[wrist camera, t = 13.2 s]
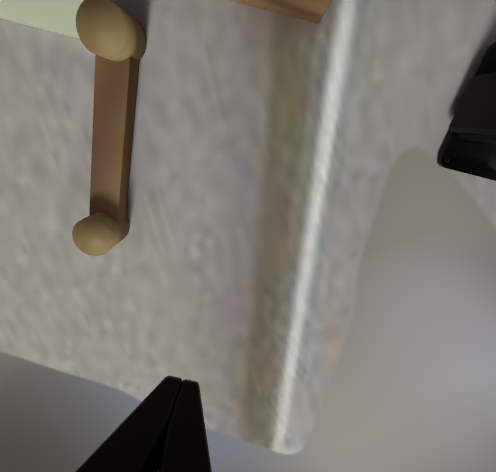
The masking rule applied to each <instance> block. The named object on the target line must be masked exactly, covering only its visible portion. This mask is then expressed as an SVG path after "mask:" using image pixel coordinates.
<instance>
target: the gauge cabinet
mask: <svg viewBox="0 0 496 472" xmlns="http://www.w3.org/2000/svg"><path fill="white" fill-rule="evenodd" d="M232 1H236V2H240V3H244V4H247V5H251V6H255V7H258V8H262V9H266V10H270V11H273V12H277V13H281V14H285V15H288V16H292V17H296V18H299V19H303V20H307V21H311V22H314V23H319V22H320V20H321V18H322V16H323V14H324V13H325V11H326V9H327V7H328V5H329V4H330V2H331V0H232Z"/></svg>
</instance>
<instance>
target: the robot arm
mask: <svg viewBox="0 0 496 472" xmlns="http://www.w3.org/2000/svg"><path fill="white" fill-rule="evenodd" d="M449 127H450V131H449V133H448V136H447V138H446V140H445V142H444V144H443V146H442V149H441V151H440V153H439V155H438V158H437V163H438V164H439V166H441V167H444V168H448V169H452V170H456V171H460V172H464V173H468V174H472V175H476V176H480V177H483V178H487V179H491V180H495V181H496V42H494V43H493V44H491V45H490V47H489V48H488V50H487V52H486V54H485V56H484V58H483V60H482V63H481V65H480V67H479V69H478V71H477V73H476V75H475V77H474V78H472V79H471V80H470V82H469V84H468V86H467V89H466V91H465V93H464V95H463V97H462V99H461V102H460V104H459V106H458V108H457V110H456V112H455V115H454V117H453V119H452V121H451V123H450V126H449ZM448 155H450V156H451V158H450V160H449V162H447V163H446V162H445V159H446V157H447V156H448ZM158 471H159V472H212V471H211V464H210V457H209V450H208V443H207V436H206V429H205V423H204V416H203V409H202V402H201V395H200V389H199V384H198V382H196V381H191V380H187V379H185V380H183V382H182V379H181V378H178V377H173V376H167V377H166V378H164V380H163V381H162V382H161V383H160V384H159V385H158V386H157V387H156V388H155V389H154V390H153V391H152V392H151V393H150V394H149V395H148V396H147V397H146V398H145V399H144V400H143V401H142V402H141V404H140V405H139V406H138V407H137V408H136V409H135V410H134V411H133V412H132V413H131V414H130V415H129V416H128V417H127V418H126V419H125V421H123V422H122V423H121V424H120V425H119V427H118V428H117V429H116V430H115V431H114V432H113V433H112V434H111V435H110V436H109V437H108V438H107V439H106V440H105V441H104V442H103V443H102V444H101V445H100V446H99V447H98V448H97V450H96V451H95V452H94V453H93V454H92V455H91V456H90V457H89V458H88V459H87V460H86V461H85V462H84V463H83V464H82V465H81V466H80V467H79V468H78V469H77V470H76V471H75V472H158Z"/></svg>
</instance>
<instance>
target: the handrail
mask: <svg viewBox="0 0 496 472" xmlns="http://www.w3.org/2000/svg"><path fill="white" fill-rule="evenodd" d="M76 29H77V33H78V36H79V38H80V40H81V41H82V43H83V44H84V46H85V47H86V48H87V49H88V50H89V51H91V52H92V53H94V54H96V59H95V85H94V111H93V138H92V164H91V190H90V216H88V217H86V218H84V219H83V220H81V221H79V222H78V223H76V225H75V226H74V228H73V231H72V236H73V240H74V242H75V244H76V246H77V247H78V248H79V249H80V250H81V251H83V252H84V253H86V254H88V255H91V256H101V255H104V254H105V253H107V252H108V251H109V250H110V249H112V248H113V247H114V246H115V245H116V244H117V243H119V242H120V241H121V240H122V239H123V238H125V237H126V235H127V234H128V232H129V222H128V220H127V218H126V209H127V197H128V185H129V174H130V162H131V151H132V139H133V127H134V116H135V104H136V93H137V81H138V70H139V60H140V59H141V58H142V57H143V55H144V53H145V49H146V37H145V33H144V30H143V28H142V26H141V25H140V24H139V22H138V21H137V20H136V19H135V18H133V17H132V16H131V15H129V14H128V13H127V12H125V11H124V10H123V9H121V8H120V7H119V6H117V5H116V4H115V3H113V2H112V1H111V0H84V1H83V2H82V3H81V4H80V6H79V8H78V10H77V13H76Z"/></svg>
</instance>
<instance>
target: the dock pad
mask: <svg viewBox="0 0 496 472" xmlns="http://www.w3.org/2000/svg"><path fill="white" fill-rule="evenodd" d="M83 1H84V0H0V18H1V19H5V20H8V21H12V22H16V23H20V24H24V25H28V26H32V27H35V28H39V29H43V30H47V31H51V32H55V33H59V34H62V35H66V36H70V37H74V38H78V39H80V38H79V36H78V33H77V29H76V13H77V10H78V8H79V6H80V4H81V3H82V2H83Z"/></svg>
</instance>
